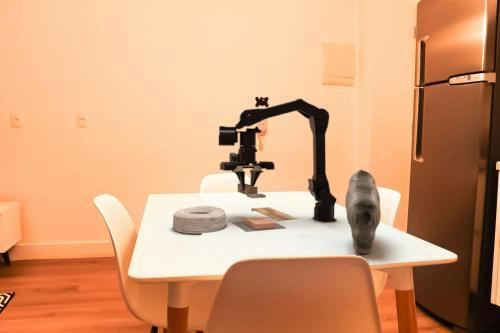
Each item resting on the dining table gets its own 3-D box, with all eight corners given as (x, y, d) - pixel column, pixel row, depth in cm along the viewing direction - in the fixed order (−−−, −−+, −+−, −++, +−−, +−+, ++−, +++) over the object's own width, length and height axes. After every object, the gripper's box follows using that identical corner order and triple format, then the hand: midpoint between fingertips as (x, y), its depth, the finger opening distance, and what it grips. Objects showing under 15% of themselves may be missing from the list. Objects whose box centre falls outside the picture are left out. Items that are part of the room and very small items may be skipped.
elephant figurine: (382, 259, 87) (385, 175, 86) (344, 255, 89) (346, 174, 88) (374, 233, 111) (376, 168, 110) (344, 231, 114) (346, 167, 112)
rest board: (269, 209, 151) (269, 207, 151) (297, 220, 129) (297, 218, 129) (251, 210, 148) (251, 208, 148) (277, 222, 126) (277, 220, 126)
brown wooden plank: (234, 191, 132) (234, 183, 132) (247, 191, 134) (247, 183, 134) (251, 198, 117) (251, 189, 117) (265, 197, 119) (265, 188, 119)
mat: (268, 221, 128) (268, 219, 128) (287, 229, 115) (287, 228, 115) (231, 224, 123) (231, 222, 123) (246, 233, 110) (246, 231, 110)
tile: (264, 217, 123) (275, 222, 115) (264, 222, 123) (275, 228, 115) (245, 218, 120) (255, 224, 112) (245, 224, 121) (255, 230, 112)
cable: (216, 221, 129) (216, 204, 128) (235, 232, 113) (235, 213, 113) (167, 225, 121) (167, 207, 121) (180, 238, 106) (180, 217, 105)
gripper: (262, 145, 138) (262, 186, 139) (215, 145, 131) (215, 188, 132) (275, 146, 127) (274, 190, 128) (225, 145, 120) (224, 192, 121)
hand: (247, 190), depth 128 cm, fingers closed on brown wooden plank, 3 cm apart
